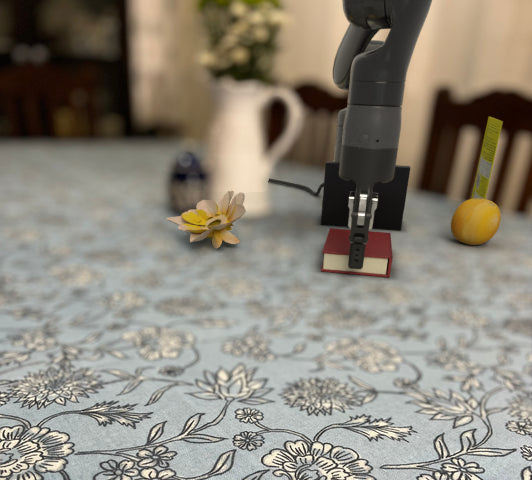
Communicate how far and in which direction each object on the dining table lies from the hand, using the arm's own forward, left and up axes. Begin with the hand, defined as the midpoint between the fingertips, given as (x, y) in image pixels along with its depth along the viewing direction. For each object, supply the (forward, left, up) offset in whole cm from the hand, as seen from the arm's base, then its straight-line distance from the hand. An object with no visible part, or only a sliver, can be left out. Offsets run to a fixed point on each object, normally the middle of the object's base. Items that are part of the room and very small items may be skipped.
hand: (355, 267), depth 77 cm
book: (-5, +7, -2) cm, 9 cm away
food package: (-6, +52, -2) cm, 52 cm away
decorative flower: (-29, -5, -2) cm, 30 cm away
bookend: (-19, +28, -2) cm, 34 cm away
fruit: (+3, +32, -2) cm, 32 cm away
